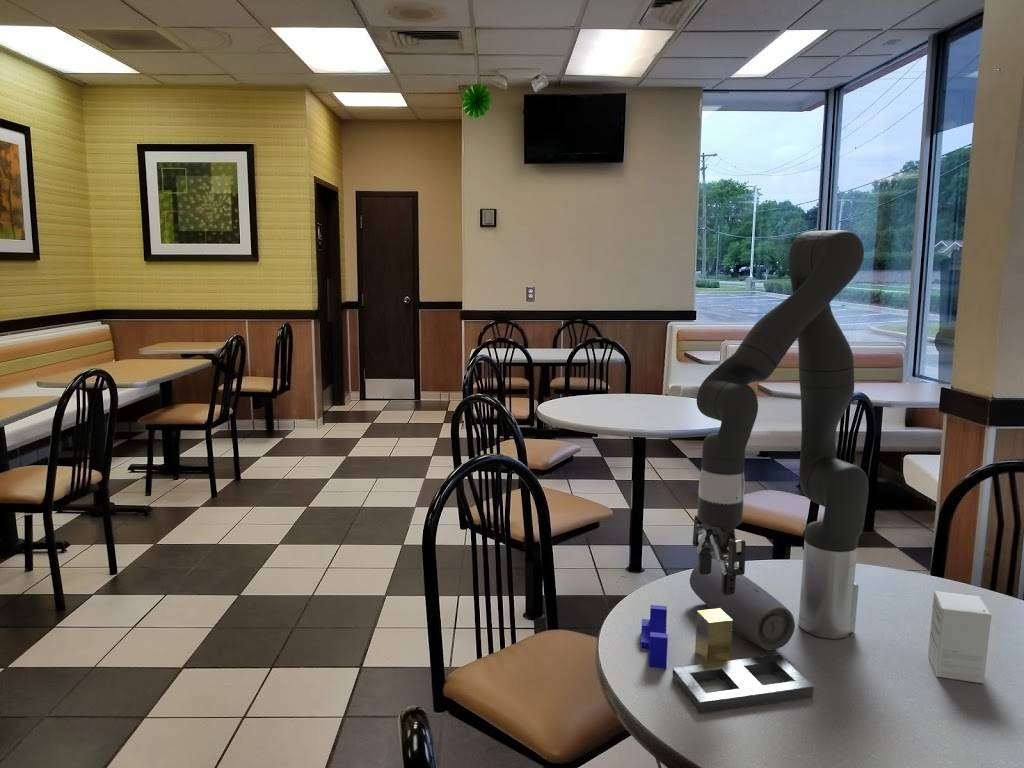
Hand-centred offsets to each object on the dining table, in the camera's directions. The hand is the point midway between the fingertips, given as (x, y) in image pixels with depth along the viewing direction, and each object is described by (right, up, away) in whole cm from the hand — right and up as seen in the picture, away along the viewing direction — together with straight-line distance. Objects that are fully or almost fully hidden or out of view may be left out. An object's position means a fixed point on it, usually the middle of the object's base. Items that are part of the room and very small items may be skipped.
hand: (715, 583), depth 132 cm
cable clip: (-10, -14, +5) cm, 18 cm away
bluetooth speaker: (+8, -12, +13) cm, 20 cm away
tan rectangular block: (0, -14, +2) cm, 14 cm away
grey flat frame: (+2, -15, -7) cm, 17 cm away
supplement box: (+41, -15, -2) cm, 44 cm away
